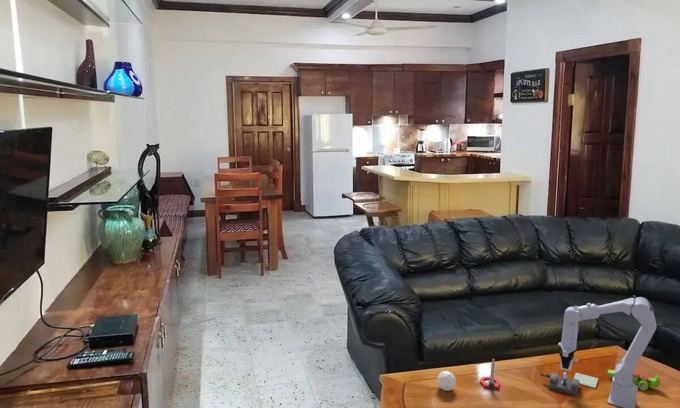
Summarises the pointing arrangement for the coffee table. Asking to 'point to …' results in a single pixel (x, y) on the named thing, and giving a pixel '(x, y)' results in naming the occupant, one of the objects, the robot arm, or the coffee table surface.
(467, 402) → the coffee table surface
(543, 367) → the coffee table surface
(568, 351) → the robot arm
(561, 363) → the hollow square tube
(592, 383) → the set down mat
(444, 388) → the geometric ball
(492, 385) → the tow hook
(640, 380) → the toy crocodile
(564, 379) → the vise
